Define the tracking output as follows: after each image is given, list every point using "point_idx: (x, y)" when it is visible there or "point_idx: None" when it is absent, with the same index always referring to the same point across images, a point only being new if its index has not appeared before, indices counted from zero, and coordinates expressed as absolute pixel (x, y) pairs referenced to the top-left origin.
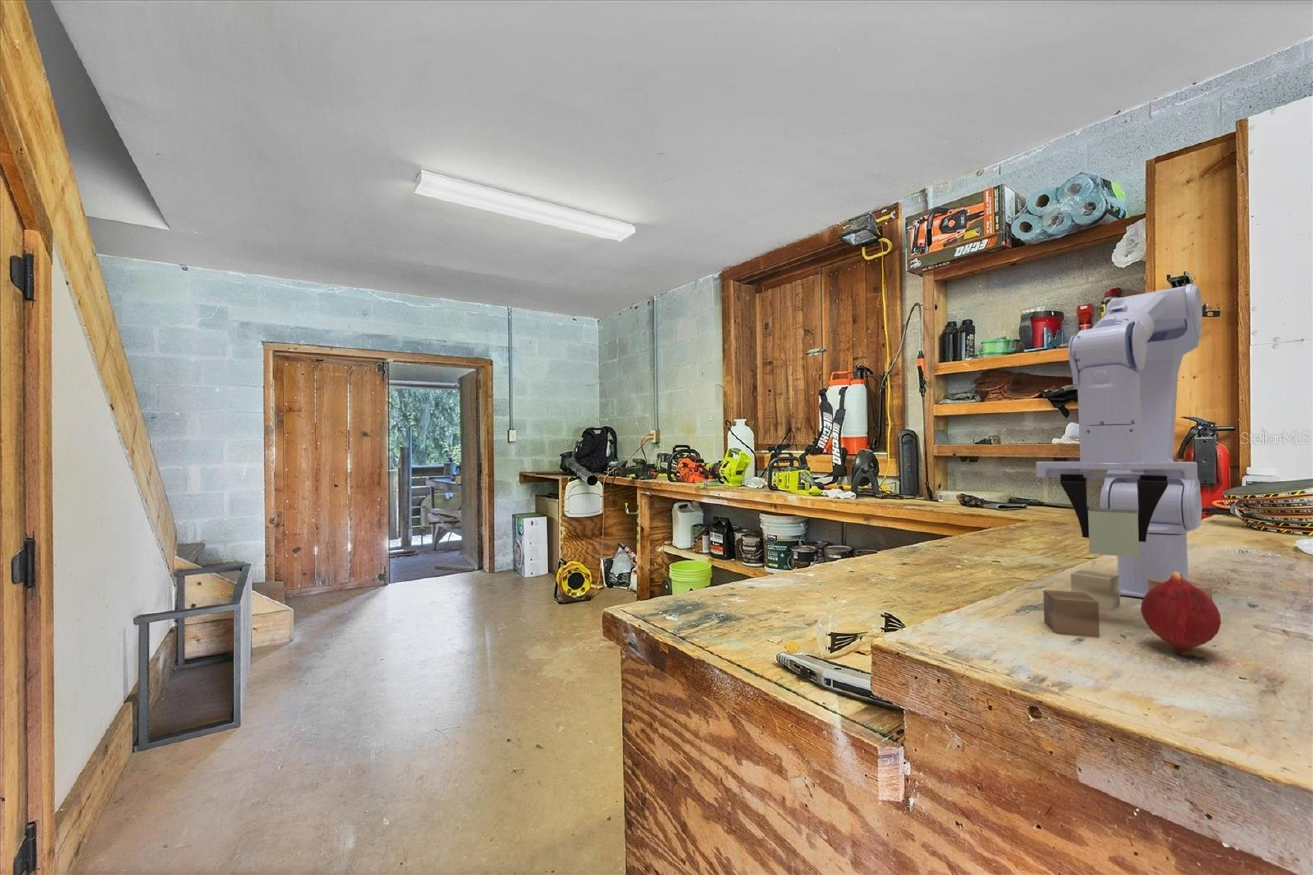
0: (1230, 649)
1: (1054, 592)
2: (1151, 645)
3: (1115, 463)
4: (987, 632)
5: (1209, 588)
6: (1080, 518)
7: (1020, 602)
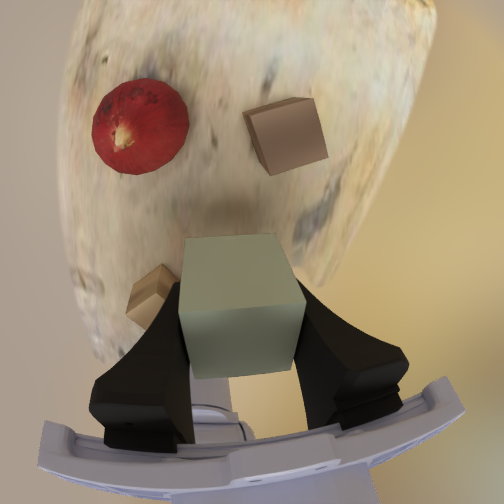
0: (107, 170)
1: (313, 147)
2: None
3: (266, 476)
4: (367, 63)
5: (127, 312)
6: (313, 299)
7: (331, 232)
